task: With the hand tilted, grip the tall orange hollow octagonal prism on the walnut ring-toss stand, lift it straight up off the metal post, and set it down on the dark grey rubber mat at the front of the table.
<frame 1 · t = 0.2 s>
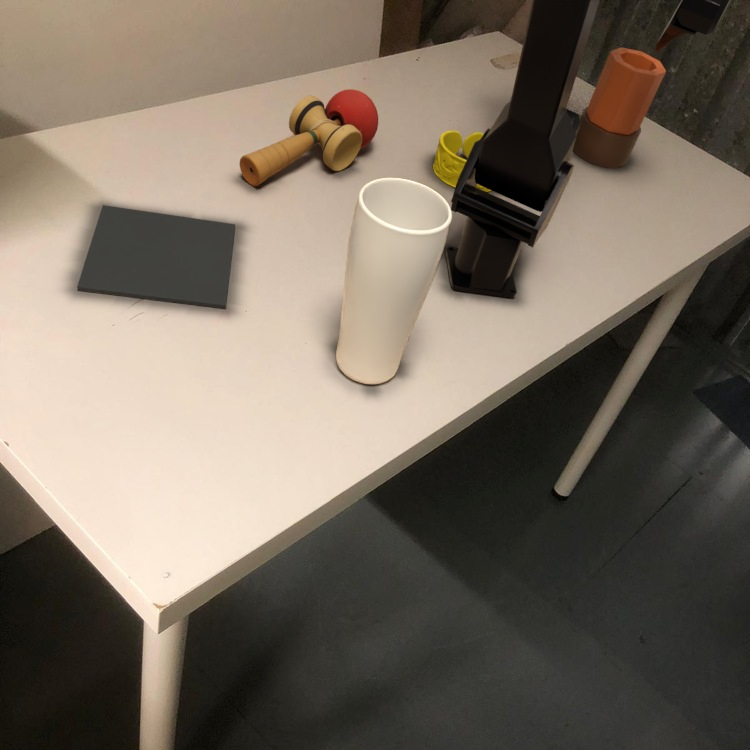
hand: (618, 31, 81), 15 cm above the table, tool tilted 35°, fingers open, 9 cm apart
kendama: (309, 164, 81), on the table
orange hollow octagonal prism: (612, 120, 92), point 4 cm above the table, touching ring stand
mat: (161, 257, 66), on the table
drinking glass: (365, 367, 63), on the table
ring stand: (598, 151, 96), on the table
bracelet: (465, 175, 86), on the table
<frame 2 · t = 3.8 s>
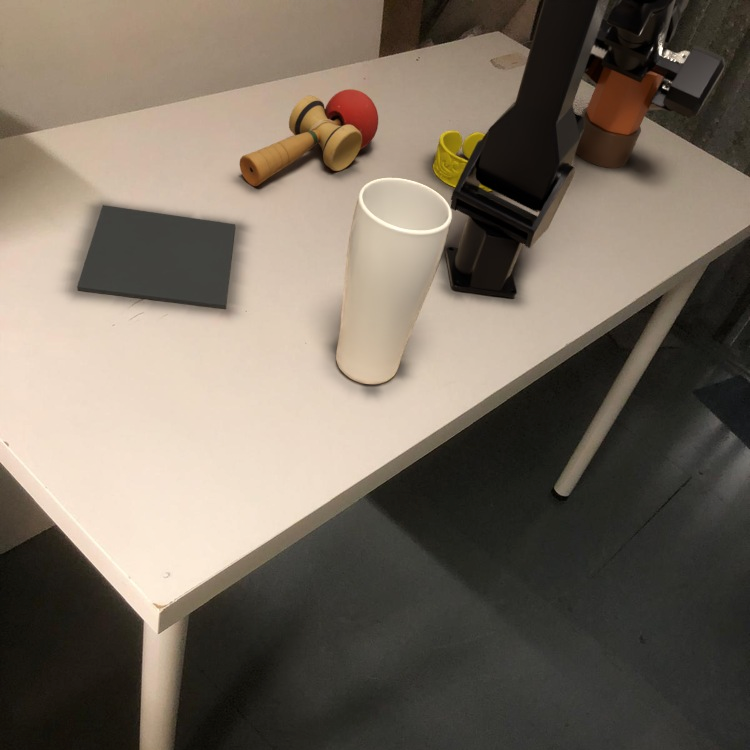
hand: (626, 94, 91), 7 cm above the table, tool tilted 45°, fingers closed on orange hollow octagonal prism, 7 cm apart
orange hollow octagonal prism: (611, 120, 92), point 4 cm above the table, touching gripper, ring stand
everything else where it was.
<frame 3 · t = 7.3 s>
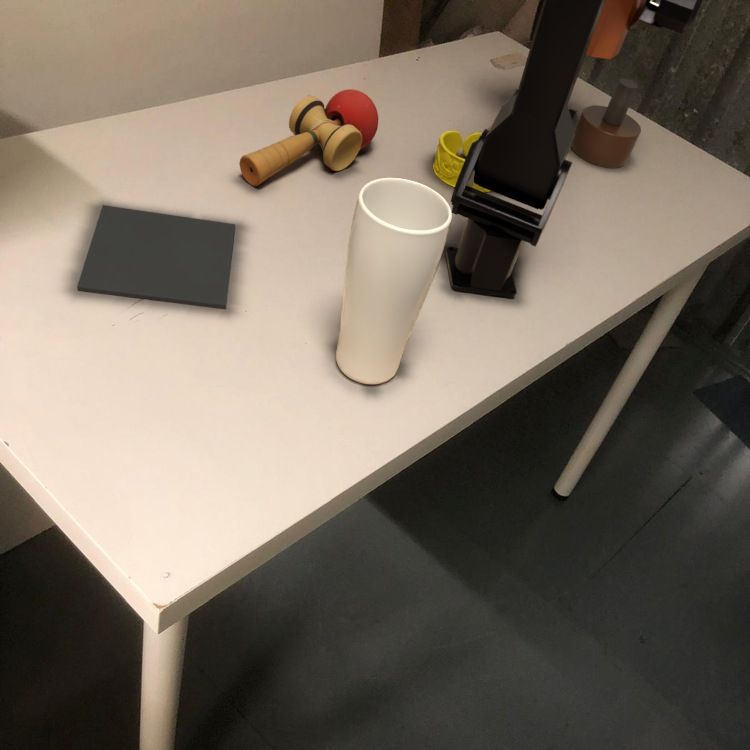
hand: (603, 16, 86), 14 cm above the table, tool tilted 45°, fingers closed on orange hollow octagonal prism, 7 cm apart
orange hollow octagonal prism: (590, 45, 88), point 11 cm above the table, touching gripper
everything else where it was.
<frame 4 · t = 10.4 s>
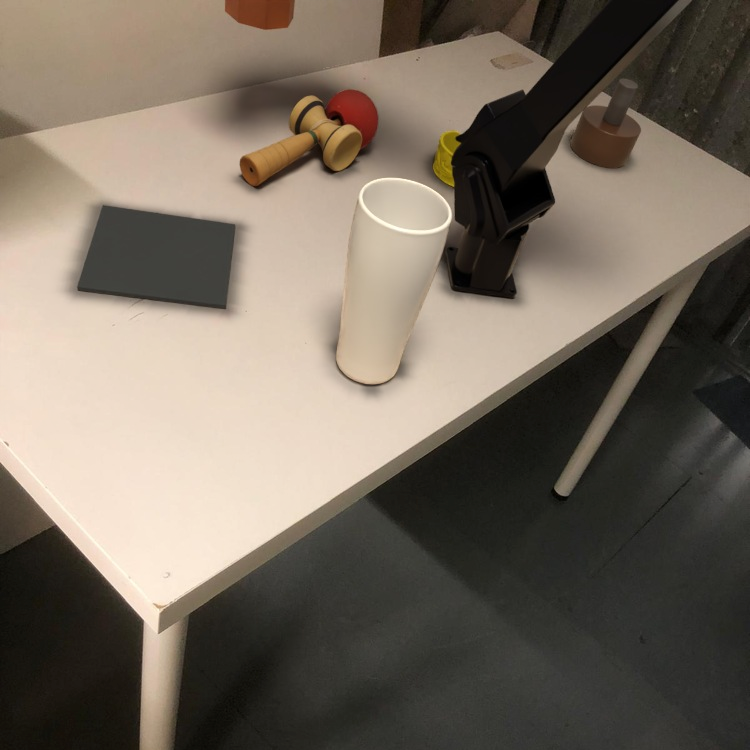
orange hollow octagonal prism: (259, 14, 75), point 11 cm above the table, touching gripper
everything else where it was.
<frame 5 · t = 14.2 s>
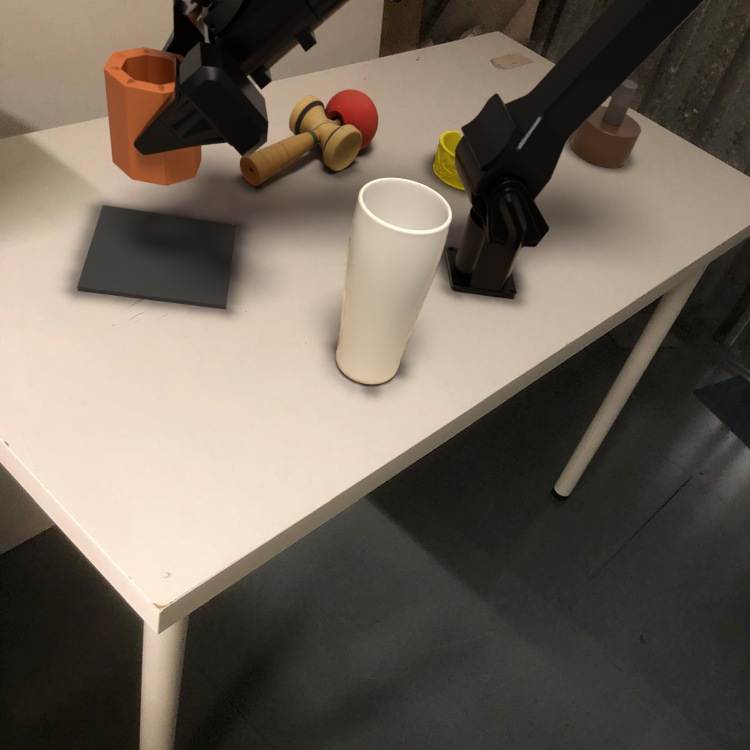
hand: (138, 124, 57), 12 cm above the table, tool tilted 45°, fingers closed on orange hollow octagonal prism, 7 cm apart
orange hollow octagonal prism: (157, 161, 59), point 9 cm above the table, touching gripper
everything else where it was.
when the fingers open (3 cm above the table, at t = 17.3 s): orange hollow octagonal prism stays where it is, resting on mat.
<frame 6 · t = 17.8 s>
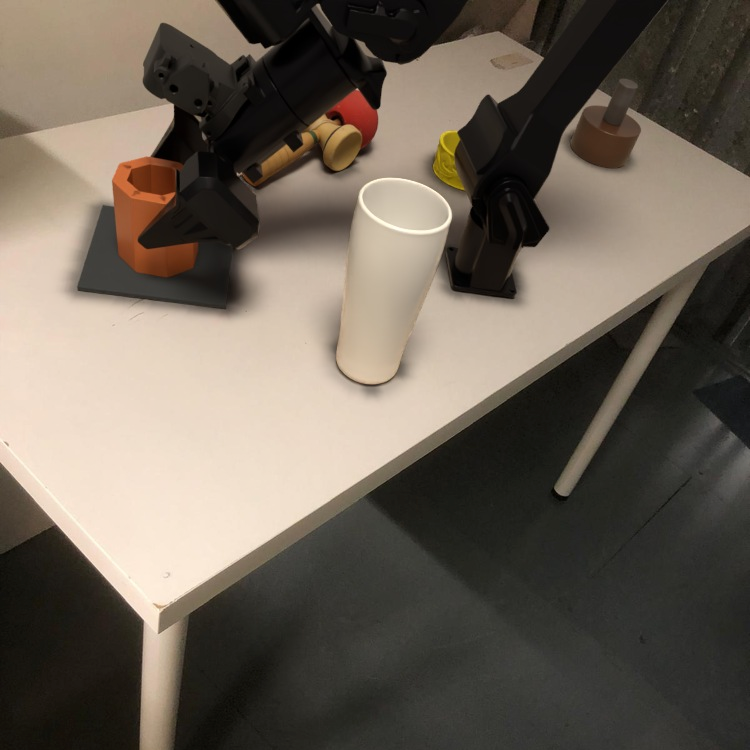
hand: (142, 211, 62), 4 cm above the table, tool tilted 45°, fingers open, 9 cm apart
orange hollow octagonal prism: (159, 253, 66), resting on mat
everything else where it was.
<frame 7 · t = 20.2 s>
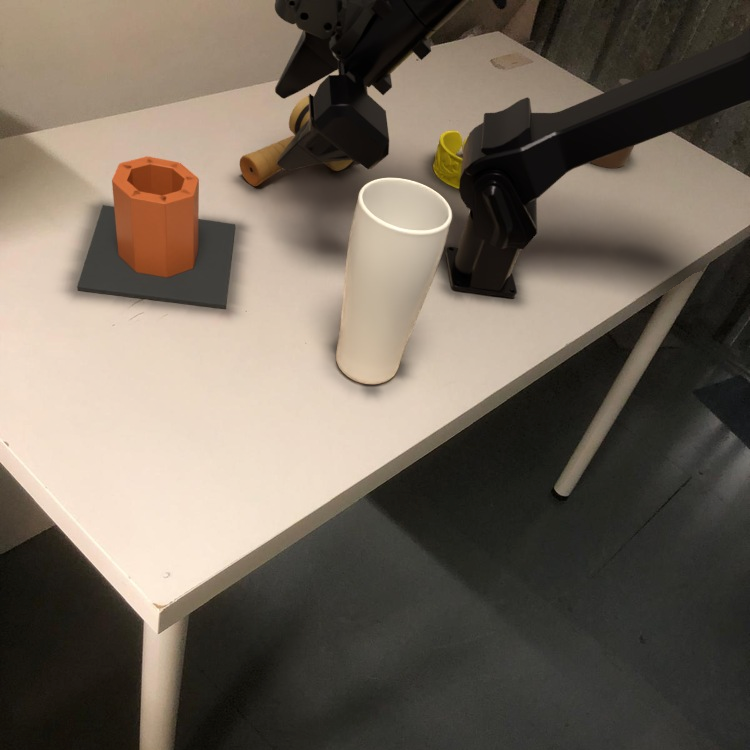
hand: (279, 129, 65), 9 cm above the table, tool tilted 35°, fingers open, 9 cm apart
nothing on the table moved.
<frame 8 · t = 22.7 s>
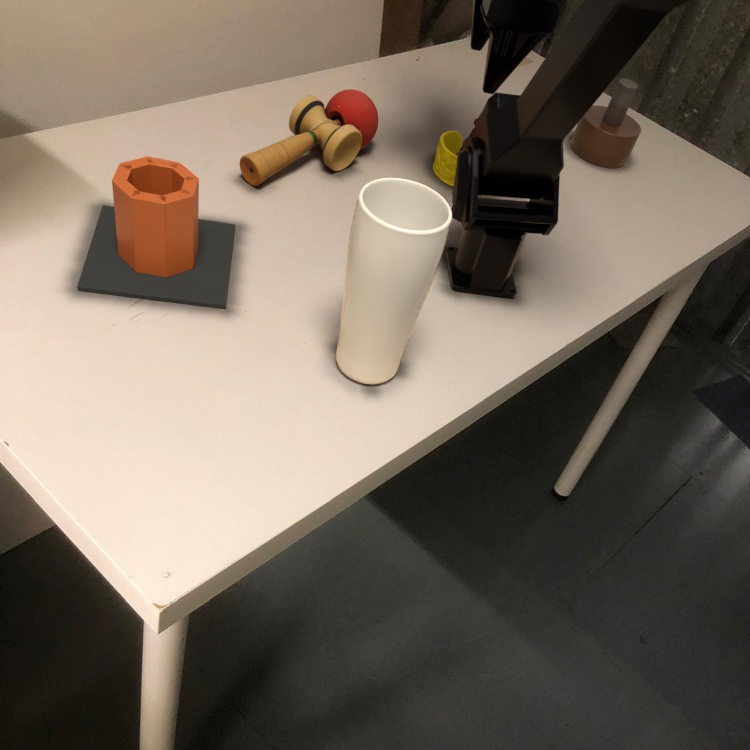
hand: (481, 70, 72), 13 cm above the table, tool pointing down, fingers open, 9 cm apart
nothing on the table moved.
at the end: orange hollow octagonal prism inside the target area on the mat (0.2 cm from its centre), point 0.4 cm above the mat's base; orange hollow octagonal prism moved 60.8 cm from its start; the gripper is holding nothing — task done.
